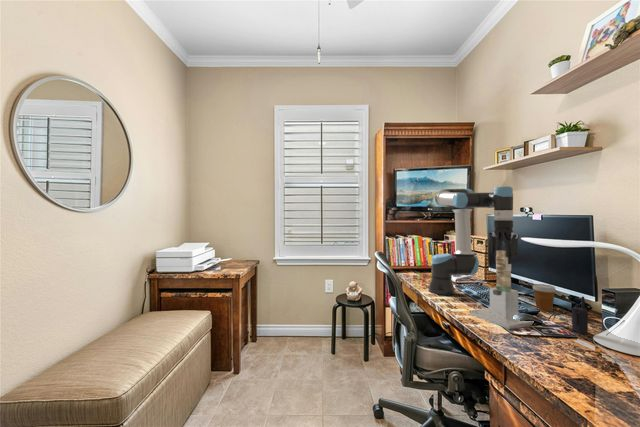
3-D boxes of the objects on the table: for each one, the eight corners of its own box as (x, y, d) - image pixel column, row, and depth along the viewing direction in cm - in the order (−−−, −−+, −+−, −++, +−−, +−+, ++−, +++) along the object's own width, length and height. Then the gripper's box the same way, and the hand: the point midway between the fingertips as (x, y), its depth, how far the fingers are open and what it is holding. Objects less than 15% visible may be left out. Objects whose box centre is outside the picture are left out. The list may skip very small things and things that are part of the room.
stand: (469, 314, 141) (469, 286, 141) (499, 309, 147) (499, 282, 147) (508, 329, 122) (508, 297, 122) (541, 323, 129) (540, 292, 129)
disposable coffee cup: (528, 308, 149) (528, 284, 149) (539, 305, 153) (539, 282, 153) (549, 313, 141) (549, 289, 141) (560, 311, 145) (560, 287, 145)
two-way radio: (590, 334, 116) (590, 297, 116) (580, 335, 116) (580, 297, 116) (576, 329, 122) (576, 293, 122) (567, 329, 121) (567, 294, 121)
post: (495, 301, 136) (495, 250, 136) (502, 300, 137) (502, 250, 137) (504, 304, 132) (504, 251, 132) (511, 303, 133) (511, 251, 133)
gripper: (481, 219, 142) (481, 267, 141) (515, 220, 125) (515, 274, 125) (492, 219, 144) (492, 266, 144) (527, 220, 128) (527, 272, 128)
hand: (503, 269), depth 135 cm, fingers closed on post, 4 cm apart
